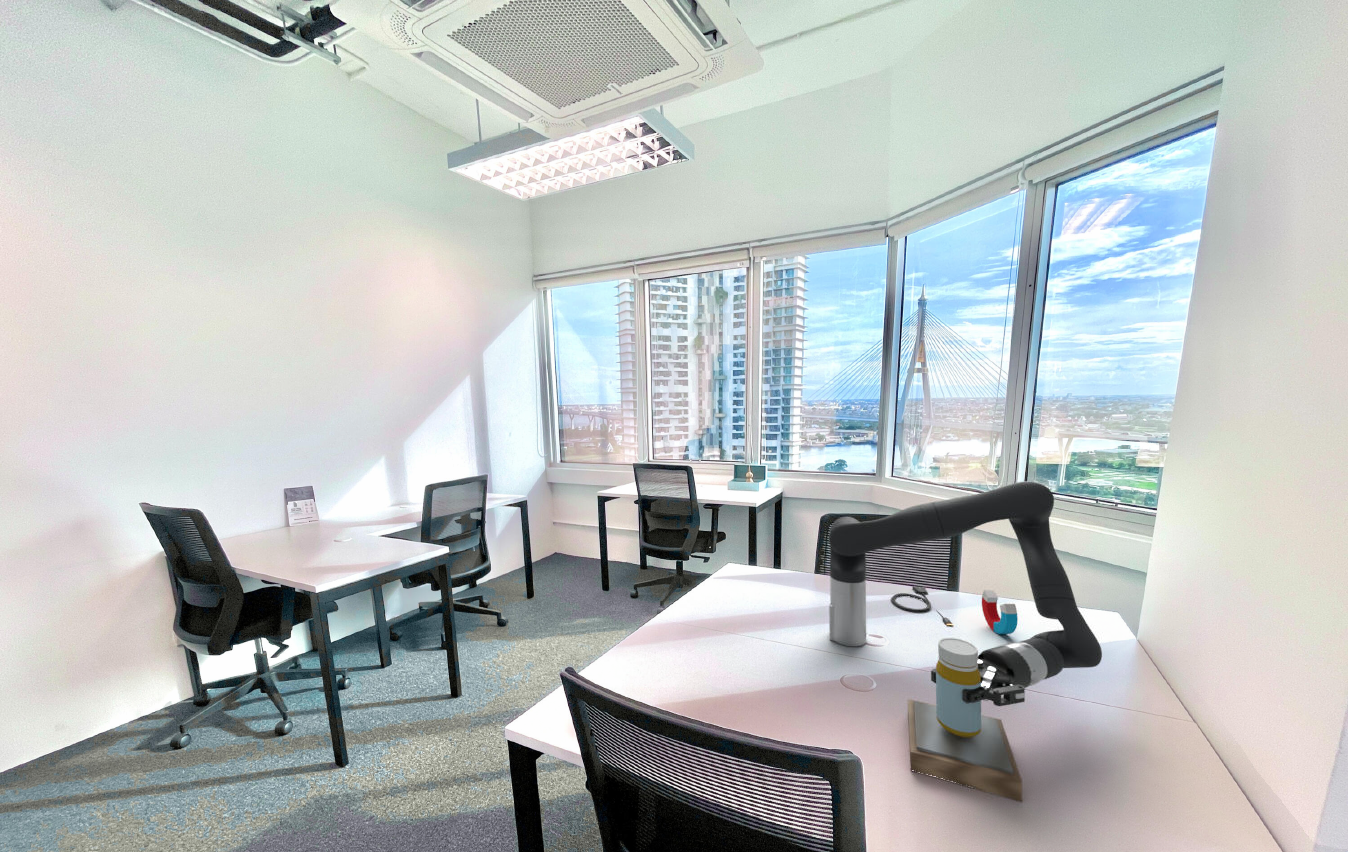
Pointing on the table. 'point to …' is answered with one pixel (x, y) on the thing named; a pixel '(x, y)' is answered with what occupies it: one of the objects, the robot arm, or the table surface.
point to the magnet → (991, 615)
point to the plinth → (963, 753)
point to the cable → (920, 591)
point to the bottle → (957, 687)
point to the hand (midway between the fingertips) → (948, 686)
